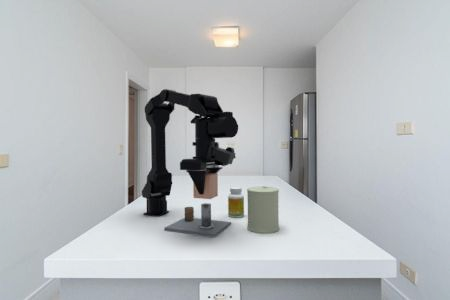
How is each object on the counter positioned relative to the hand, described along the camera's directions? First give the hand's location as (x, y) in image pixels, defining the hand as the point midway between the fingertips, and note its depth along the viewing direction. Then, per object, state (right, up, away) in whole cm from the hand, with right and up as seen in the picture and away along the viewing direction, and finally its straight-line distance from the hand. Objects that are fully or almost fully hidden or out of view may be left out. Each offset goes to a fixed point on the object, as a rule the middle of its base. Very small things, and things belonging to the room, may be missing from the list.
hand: (205, 192), depth 76 cm
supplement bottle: (+9, -11, +15) cm, 20 cm away
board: (-2, -11, +2) cm, 11 cm away
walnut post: (-6, -11, +7) cm, 14 cm away
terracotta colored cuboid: (0, -1, 0) cm, 1 cm away
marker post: (0, -11, 0) cm, 11 cm away
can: (+17, -11, +1) cm, 20 cm away
